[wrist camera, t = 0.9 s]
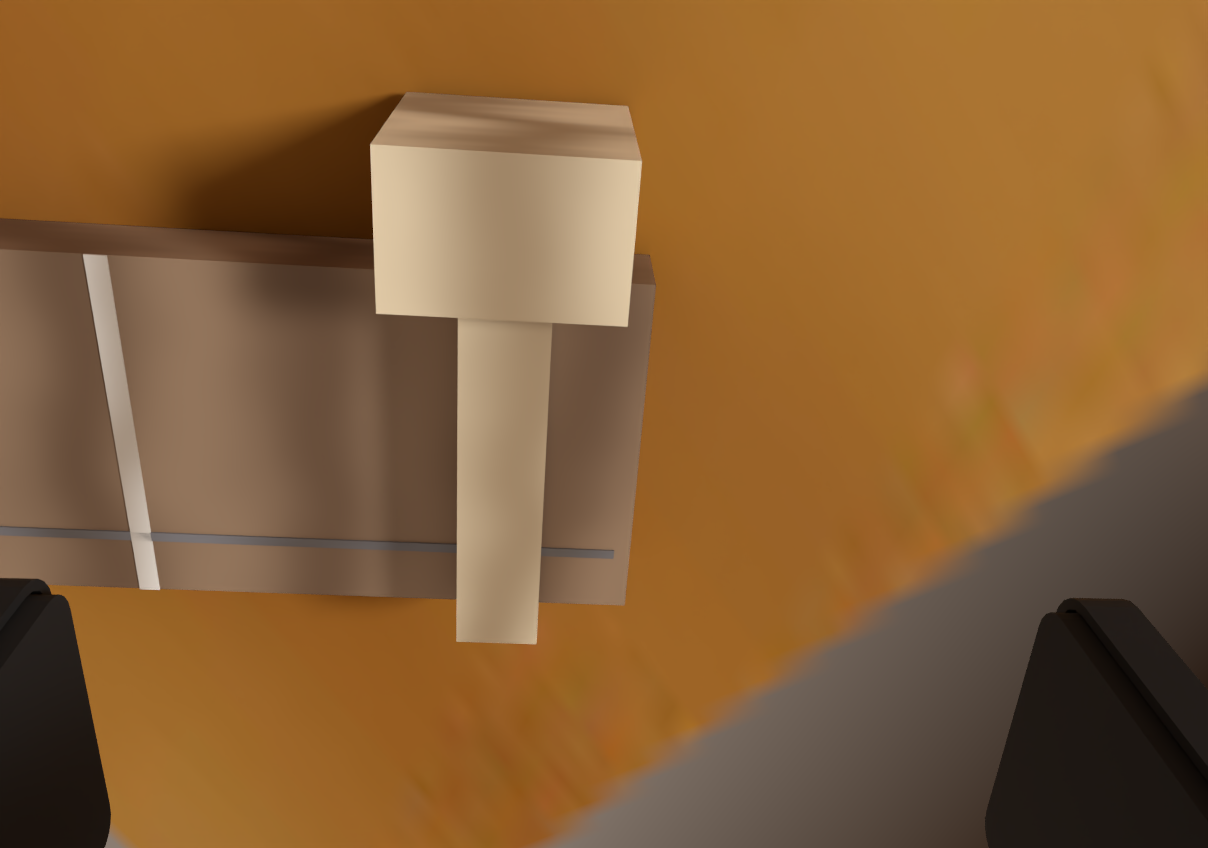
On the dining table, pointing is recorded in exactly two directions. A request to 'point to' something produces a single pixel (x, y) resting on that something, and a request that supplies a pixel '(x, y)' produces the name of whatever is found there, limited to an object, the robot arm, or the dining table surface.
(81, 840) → the robot arm
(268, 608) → the dining table surface
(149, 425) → the walnut board
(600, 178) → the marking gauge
